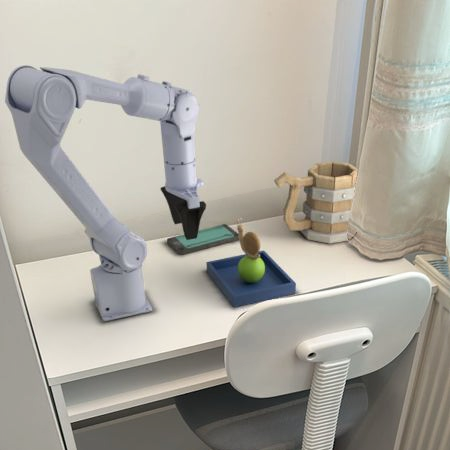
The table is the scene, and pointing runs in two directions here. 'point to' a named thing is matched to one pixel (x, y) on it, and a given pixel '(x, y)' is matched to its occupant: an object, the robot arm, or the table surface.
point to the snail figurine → (250, 256)
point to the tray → (244, 291)
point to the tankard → (321, 201)
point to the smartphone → (203, 239)
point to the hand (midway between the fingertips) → (185, 230)
